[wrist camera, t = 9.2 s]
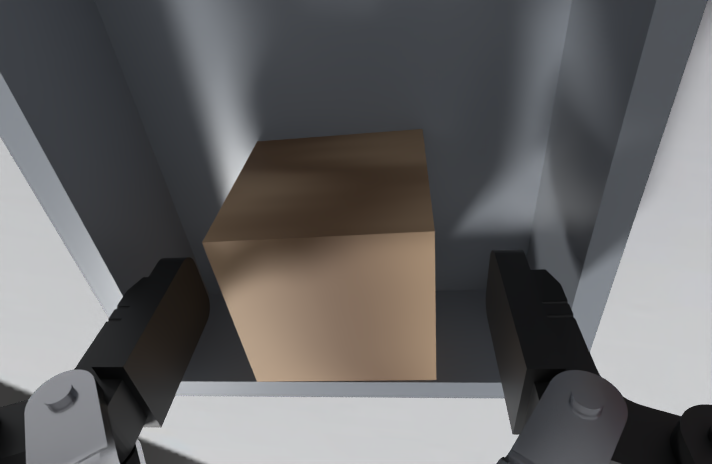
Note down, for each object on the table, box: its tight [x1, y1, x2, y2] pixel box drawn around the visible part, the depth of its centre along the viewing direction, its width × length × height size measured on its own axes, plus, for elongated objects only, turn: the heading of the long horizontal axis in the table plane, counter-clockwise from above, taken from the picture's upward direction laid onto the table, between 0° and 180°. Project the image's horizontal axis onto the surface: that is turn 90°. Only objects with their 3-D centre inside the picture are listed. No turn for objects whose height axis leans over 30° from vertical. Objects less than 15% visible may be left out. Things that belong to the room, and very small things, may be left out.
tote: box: [0, 0, 708, 398], centre depth 11 cm, size 14×18×5 cm
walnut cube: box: [202, 129, 436, 382], centre depth 13 cm, size 5×5×5 cm
